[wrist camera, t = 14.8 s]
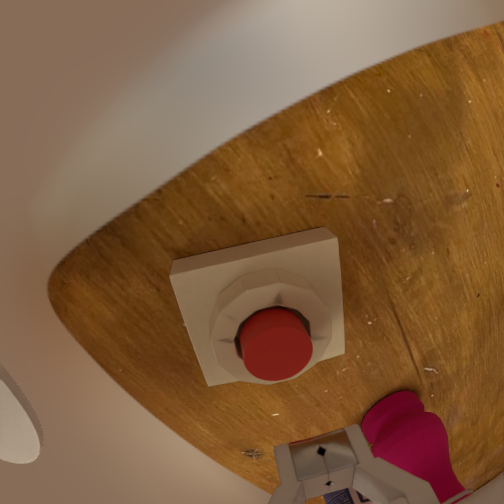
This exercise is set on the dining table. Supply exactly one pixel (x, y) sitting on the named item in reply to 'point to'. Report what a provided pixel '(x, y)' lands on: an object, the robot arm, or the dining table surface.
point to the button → (275, 344)
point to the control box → (260, 298)
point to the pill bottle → (346, 497)
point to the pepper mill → (413, 443)
